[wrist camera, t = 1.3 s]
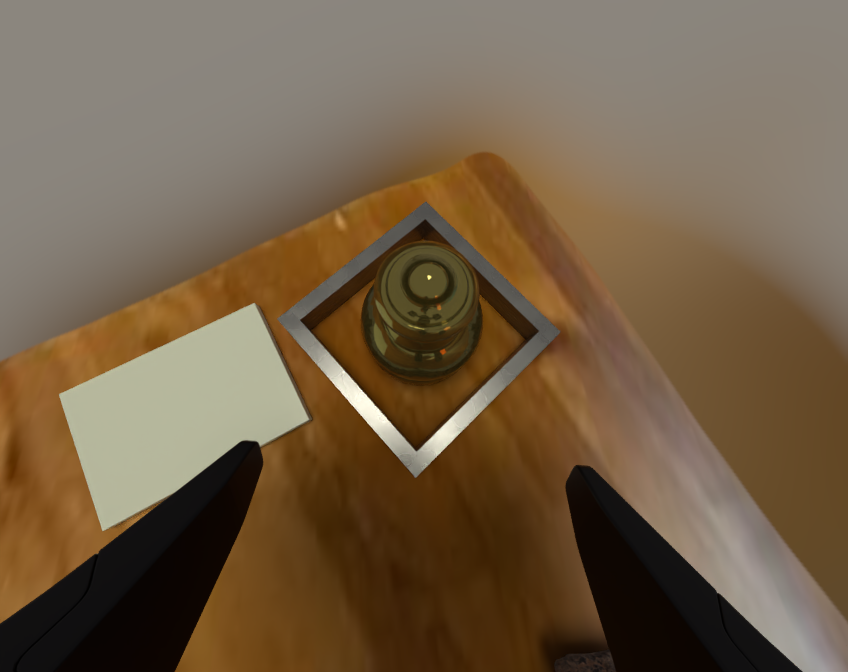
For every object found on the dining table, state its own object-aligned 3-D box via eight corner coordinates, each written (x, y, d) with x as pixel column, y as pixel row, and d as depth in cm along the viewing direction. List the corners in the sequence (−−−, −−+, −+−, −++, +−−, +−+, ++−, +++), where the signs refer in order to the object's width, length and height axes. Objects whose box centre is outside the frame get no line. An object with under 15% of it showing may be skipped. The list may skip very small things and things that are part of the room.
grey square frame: (545, 340, 24) (560, 332, 22) (414, 470, 22) (415, 477, 19) (424, 221, 26) (425, 201, 24) (290, 328, 24) (277, 318, 21)
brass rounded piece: (372, 392, 23) (346, 374, 13) (364, 291, 25) (337, 209, 15) (477, 380, 23) (527, 355, 14) (462, 282, 25) (498, 198, 15)
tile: (259, 306, 24) (254, 302, 23) (312, 419, 22) (309, 419, 21) (71, 395, 22) (58, 394, 21) (114, 526, 20) (102, 531, 19)
